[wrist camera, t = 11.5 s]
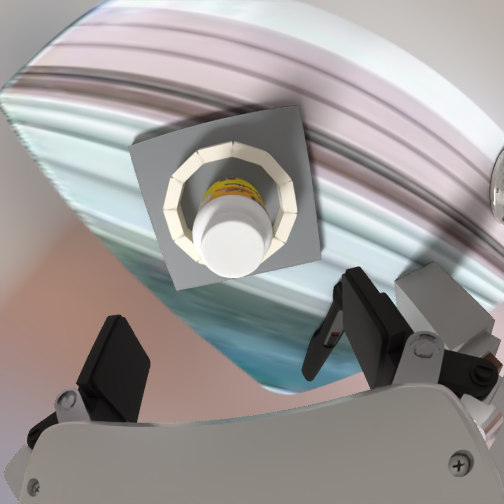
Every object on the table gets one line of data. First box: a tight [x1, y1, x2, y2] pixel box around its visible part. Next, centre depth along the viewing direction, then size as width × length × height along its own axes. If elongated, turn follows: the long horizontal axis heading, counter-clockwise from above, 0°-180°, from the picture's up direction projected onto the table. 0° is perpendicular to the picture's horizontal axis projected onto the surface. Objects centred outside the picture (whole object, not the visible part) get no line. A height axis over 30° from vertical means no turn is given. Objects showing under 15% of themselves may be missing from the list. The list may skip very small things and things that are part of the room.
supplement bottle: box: [192, 177, 273, 278], centre depth 22 cm, size 6×6×10 cm
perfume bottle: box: [394, 261, 503, 373], centre depth 26 cm, size 7×7×18 cm
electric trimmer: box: [302, 282, 344, 381], centre depth 35 cm, size 4×16×3 cm, turn 166°
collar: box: [128, 105, 321, 290], centre depth 26 cm, size 16×16×3 cm
